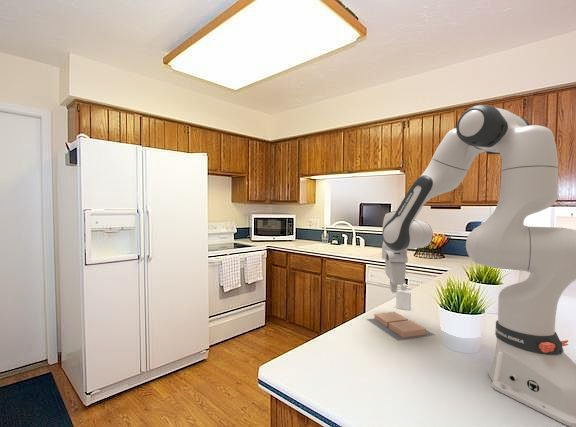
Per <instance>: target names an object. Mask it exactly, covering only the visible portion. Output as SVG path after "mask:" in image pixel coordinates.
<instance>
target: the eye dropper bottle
mask: <svg viewBox="0 0 576 427" xmlns="http://www.w3.org/2000/svg"><path fill="white" fill-rule="evenodd" d="M411 296H412V294H411V291H410V290H408V284H406V281H404V284H403V285H400V289H397V292H396V305H395V306H396V309H399V310H403V311H411V309H412V308H411V307H412V306H411V304H412V300H411V298H412V297H411Z"/></svg>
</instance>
